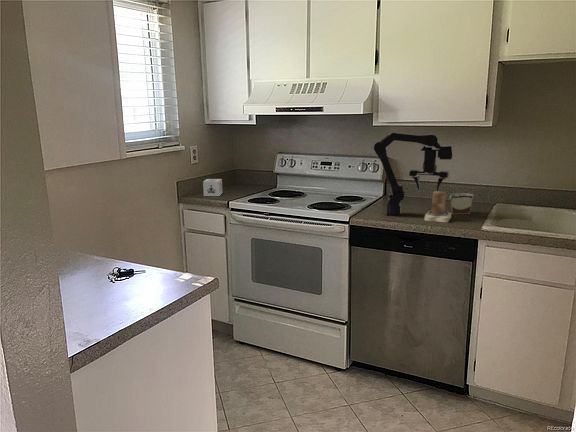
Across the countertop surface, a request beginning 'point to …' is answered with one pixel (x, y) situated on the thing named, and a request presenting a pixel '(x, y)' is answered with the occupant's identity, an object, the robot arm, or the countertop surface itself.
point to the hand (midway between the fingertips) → (428, 190)
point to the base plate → (438, 217)
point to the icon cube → (212, 187)
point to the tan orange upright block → (438, 202)
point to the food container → (461, 203)
